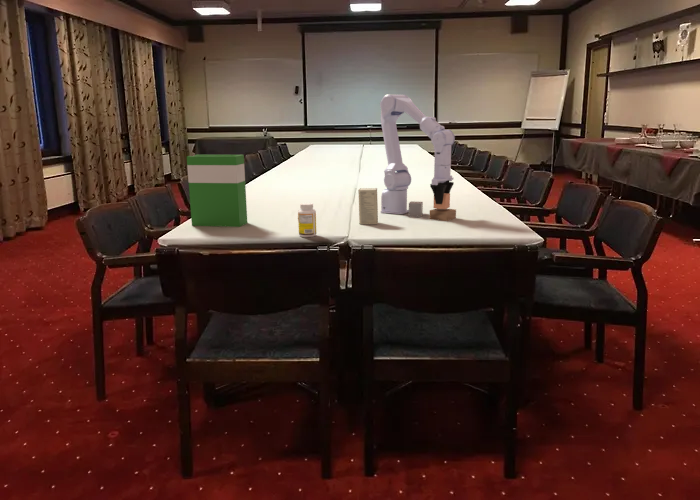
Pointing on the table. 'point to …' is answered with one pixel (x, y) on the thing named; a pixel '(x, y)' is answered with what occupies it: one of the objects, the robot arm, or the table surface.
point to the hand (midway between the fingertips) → (441, 203)
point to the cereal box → (217, 190)
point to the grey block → (415, 209)
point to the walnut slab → (442, 214)
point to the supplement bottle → (307, 220)
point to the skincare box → (368, 206)
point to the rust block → (445, 202)
